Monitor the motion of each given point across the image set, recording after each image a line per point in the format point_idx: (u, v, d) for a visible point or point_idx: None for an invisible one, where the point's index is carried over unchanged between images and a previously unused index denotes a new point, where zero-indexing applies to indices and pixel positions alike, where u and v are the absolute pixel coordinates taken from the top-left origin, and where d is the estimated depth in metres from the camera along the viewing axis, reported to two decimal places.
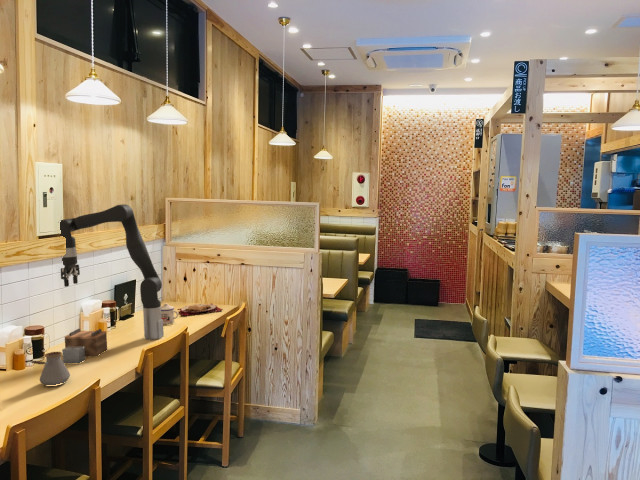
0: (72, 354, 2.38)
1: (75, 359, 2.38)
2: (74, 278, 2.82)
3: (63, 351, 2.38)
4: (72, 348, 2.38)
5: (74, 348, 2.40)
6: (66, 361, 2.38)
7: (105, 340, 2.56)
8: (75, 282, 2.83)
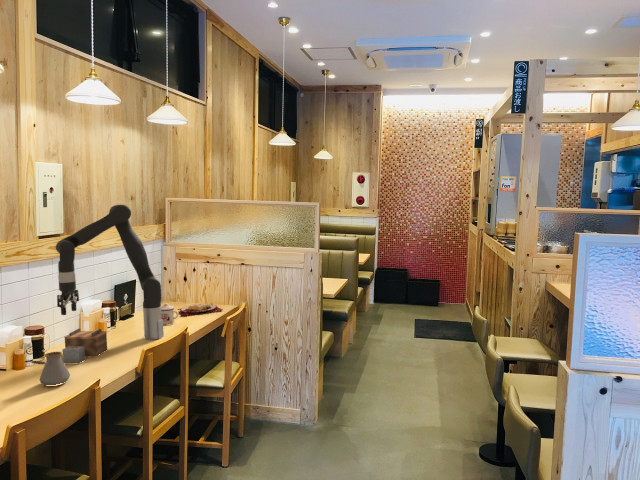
0: (72, 354, 2.38)
1: (75, 359, 2.38)
2: (72, 305, 2.56)
3: (63, 351, 2.38)
4: (72, 348, 2.38)
5: (74, 347, 2.40)
6: (66, 361, 2.38)
7: (105, 340, 2.56)
8: (74, 309, 2.56)
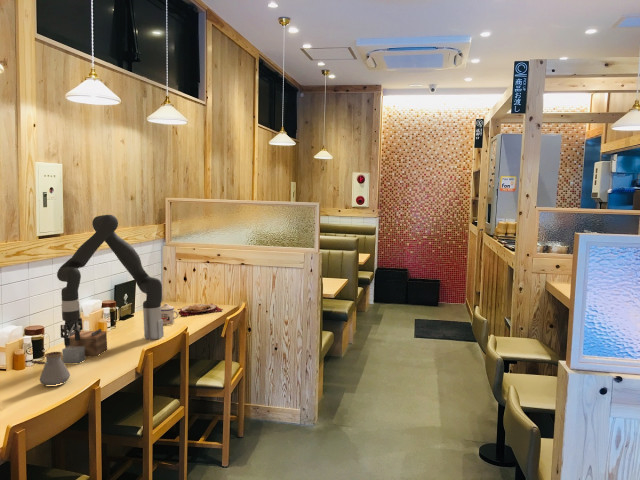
0: (72, 354, 2.38)
1: (75, 359, 2.38)
2: (76, 334, 2.43)
3: (63, 351, 2.38)
4: (72, 348, 2.38)
5: (74, 347, 2.40)
6: (66, 361, 2.38)
7: (105, 340, 2.56)
8: (77, 339, 2.43)
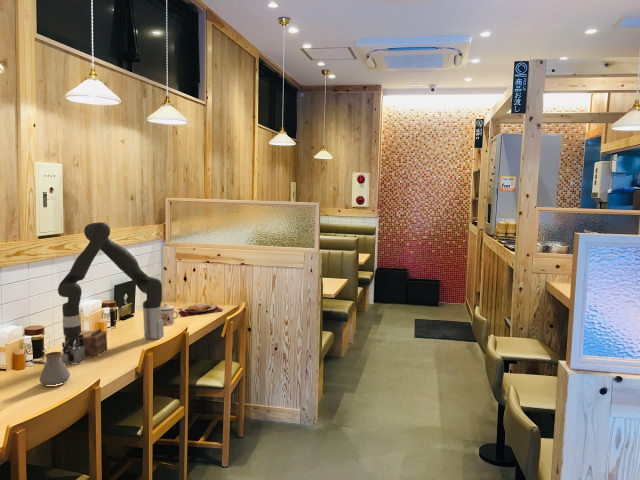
0: None
1: (75, 359, 2.38)
2: None
3: (63, 351, 2.38)
4: None
5: None
6: (66, 361, 2.38)
7: (105, 340, 2.56)
8: None
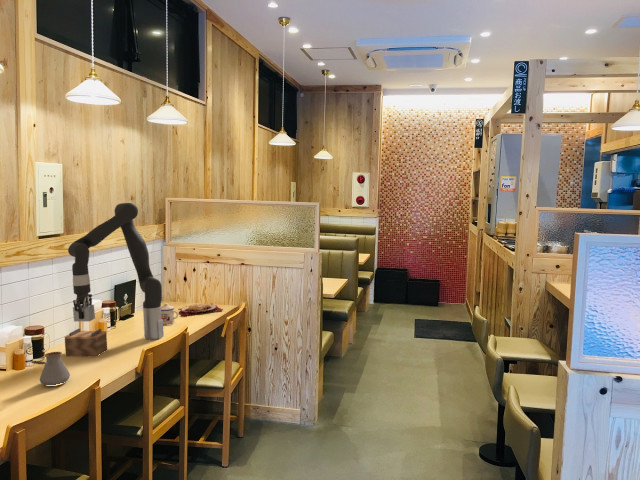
0: None
1: (85, 316, 2.47)
2: None
3: (74, 309, 2.47)
4: None
5: None
6: (77, 319, 2.48)
7: (105, 340, 2.56)
8: None
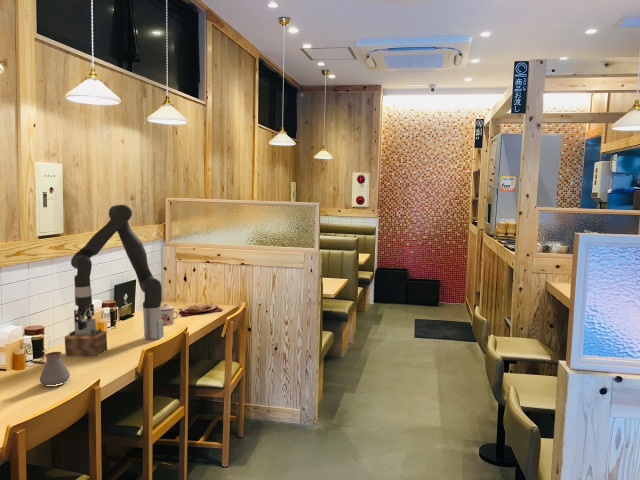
0: (84, 326, 2.50)
1: (86, 331, 2.50)
2: None
3: (75, 323, 2.50)
4: (84, 320, 2.50)
5: (86, 320, 2.52)
6: (78, 333, 2.50)
7: (105, 340, 2.56)
8: None
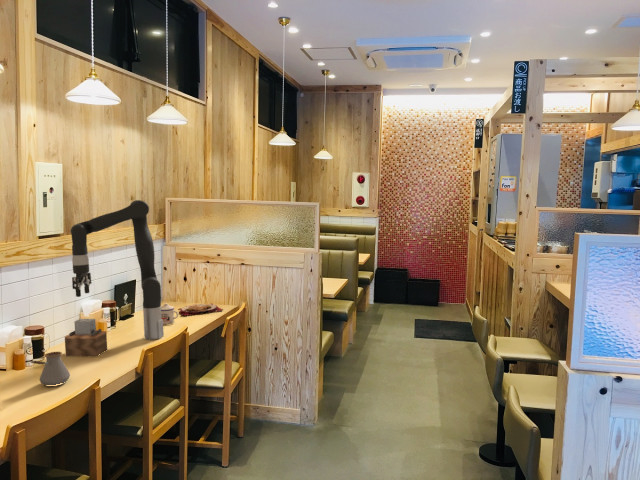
0: (84, 326, 2.50)
1: (86, 331, 2.50)
2: (85, 287, 2.63)
3: (75, 323, 2.50)
4: (84, 320, 2.50)
5: (86, 320, 2.52)
6: (78, 333, 2.50)
7: (105, 340, 2.56)
8: (87, 292, 2.63)
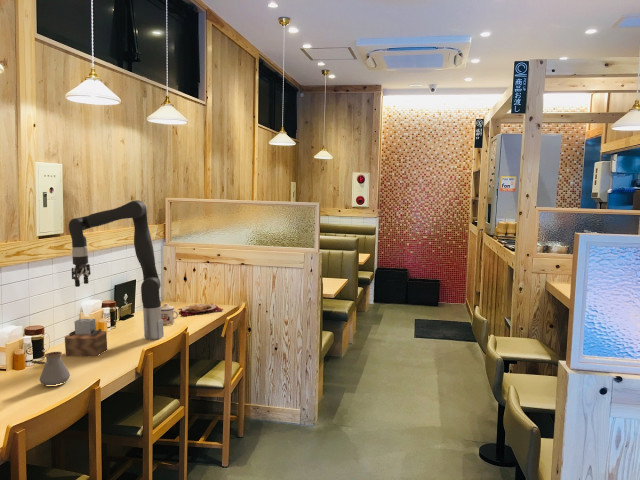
0: (84, 326, 2.50)
1: (86, 331, 2.50)
2: (85, 278, 2.77)
3: (75, 323, 2.50)
4: (84, 320, 2.50)
5: (86, 320, 2.52)
6: (78, 333, 2.50)
7: (105, 340, 2.56)
8: (86, 282, 2.77)
